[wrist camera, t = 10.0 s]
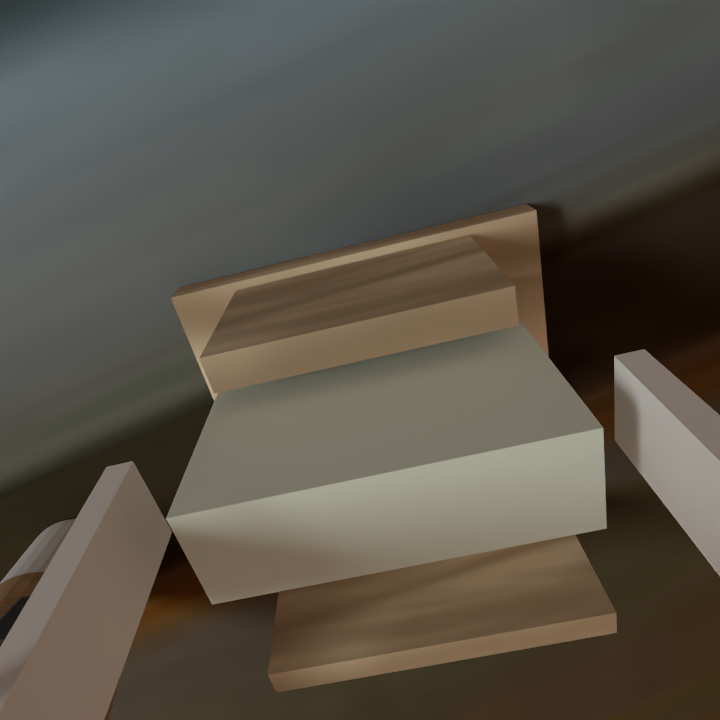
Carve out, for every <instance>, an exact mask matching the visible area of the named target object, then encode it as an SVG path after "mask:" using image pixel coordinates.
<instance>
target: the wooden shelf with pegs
mask: <svg viewBox="0 0 720 720" xmlns="http://www.w3.org/2000/svg"><path fill="white" fill-rule="evenodd" d="M171 300H172V302H173V304H174V307H175V309H176V311H177V314H178V316H179V319H180V321H181V323H182V326H183V328H184V330H185V333H186V335H187V338H188V340H189V342H190V345H191V347H192V349H193V352H194V354H195V357H196V359H197V361H198V364H199V366H200V368H201V371H202V373H203V376H204V378H205V380H206V383H207V385H208V387H209V390H210V392H211V394H212V397H213V399H214V401H215V399H216V396H217V394H218V393H219V392H224V391H228V390H233V389H237V388H242V387H246V386H251V385H255V384H260V383H264V382H268V381H273V380H277V379H282V378H286V377H291V376H295V375H300V374H304V373H309V372H313V371H318V370H322V369H327V368H331V367H336V366H340V365H345V364H349V363H354V362H358V361H362V360H367V359H371V358H376V357H380V356H385V355H389V354H394V353H398V352H403V351H407V350H412V349H416V348H421V347H425V346H430V345H434V344H439V343H443V342H447V341H452V340H456V339H461V338H465V337H470V336H474V335H479V334H483V333H488V332H492V331H497V330H501V329H506V328H510V327H515V326H519V320H520V321H521V322H522V324H523V325H524V326H525V328H526V329H527V330H528V331H529V333H530V334H531V335H532V337H533V338H534V339H535V340H536V342H537V343H538V344H539V346H540V347H541V348H542V349H543V351H544V352H545V353H546V355H547V356H548V357H549V355H548V343H547V331H546V319H545V307H544V295H543V283H542V270H541V258H540V246H539V234H538V222H537V210H535V209H534V208H532V207H531V206H529V205H527V204H524V205H520V206H515V207H511V208H507V209H503V210H499V211H495V212H491V213H486V214H482V215H478V216H474V217H470V218H466V219H462V220H457V221H453V222H449V223H445V224H441V225H437V226H432V227H428V228H424V229H420V230H416V231H412V232H408V233H403V234H399V235H395V236H391V237H387V238H383V239H379V240H374V241H370V242H366V243H362V244H358V245H354V246H350V247H345V248H341V249H337V250H333V251H329V252H325V253H321V254H316V255H312V256H308V257H304V258H300V259H296V260H291V261H287V262H283V263H279V264H275V265H271V266H267V267H262V268H258V269H254V270H250V271H246V272H242V273H238V274H233V275H229V276H225V277H221V278H217V279H213V280H209V281H204V282H200V283H196V284H192V285H188V286H184V287H179V289H178V290H177V291H176V292H175V293H174V295H173V296H172V297H171ZM612 633H617V623H616V611H615V609H614V608H613V606H612V604H611V602H610V600H609V598H608V596H607V594H606V592H605V590H604V588H603V587H602V585H601V583H600V581H599V579H598V577H597V575H596V573H595V571H594V569H593V568H592V566H591V564H590V562H589V560H588V558H587V556H586V554H585V552H584V550H583V548H582V547H581V545H580V543H579V541H578V539H577V537H576V535H570V536H565V537H560V538H555V539H550V540H544V541H539V542H534V543H529V544H524V545H519V546H513V547H508V548H503V549H498V550H493V551H487V552H482V553H477V554H472V555H467V556H462V557H456V558H451V559H446V560H441V561H436V562H430V563H425V564H420V565H415V566H410V567H404V568H399V569H394V570H389V571H384V572H379V573H373V574H368V575H363V576H358V577H353V578H347V579H342V580H337V581H332V582H327V583H322V584H316V585H311V586H306V587H301V588H296V589H290V590H285V591H280V592H278V600H277V608H276V615H275V623H274V631H273V639H272V647H271V655H270V662H269V670H268V676H269V678H270V680H271V682H272V684H273V686H274V688H275V690H276V692H282V691H288V690H294V689H299V688H305V687H311V686H316V685H322V684H328V683H333V682H339V681H345V680H351V679H356V678H362V677H368V676H373V675H379V674H385V673H390V672H396V671H402V670H407V669H413V668H419V667H424V666H430V665H436V664H441V663H447V662H453V661H458V660H464V659H470V658H476V657H481V656H487V655H493V654H498V653H504V652H510V651H515V650H521V649H527V648H532V647H538V646H544V645H549V644H555V643H561V642H566V641H572V640H578V639H584V638H589V637H595V636H601V635H606V634H612Z"/></svg>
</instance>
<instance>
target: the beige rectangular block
mask: <svg viewBox="0 0 720 720" xmlns="http://www.w3.org/2000/svg"><path fill="white" fill-rule="evenodd" d="M166 520H167V521H168V523H169V525H170V527H171V529H172V531H173V533H174V534H175V536H176V538H177V540H178V542H179V544H180V546H181V547H182V549H183V551H184V553H185V555H186V557H187V559H188V561H189V562H190V564H191V566H192V568H193V570H194V572H195V574H196V575H197V577H198V579H199V581H200V583H201V585H202V587H203V589H204V590H205V592H206V594H207V596H208V598H209V600H210V602H211V603H212V605H213V604H218V603H223V602H228V601H233V600H239V599H244V598H249V597H254V596H259V595H265V594H270V593H275V592H280V591H285V590H290V589H296V588H301V587H306V586H311V585H316V584H322V583H327V582H332V581H337V580H342V579H347V578H353V577H358V576H363V575H368V574H373V573H379V572H384V571H389V570H394V569H399V568H404V567H410V566H415V565H420V564H425V563H430V562H436V561H441V560H446V559H451V558H456V557H462V556H467V555H472V554H477V553H482V552H487V551H493V550H498V549H503V548H508V547H513V546H519V545H524V544H529V543H534V542H539V541H544V540H550V539H555V538H560V537H565V536H570V535H576V534H581V533H586V532H591V531H596V530H602V529H607V522H606V494H605V466H604V438H603V427H602V426H601V424H600V423H599V422H598V420H597V419H596V418H595V417H594V415H593V414H592V413H591V411H590V410H589V409H588V408H587V406H586V405H585V404H584V402H583V401H582V400H581V399H580V397H579V396H578V395H577V393H576V392H575V391H574V389H573V388H572V387H571V386H570V384H569V383H568V382H567V380H566V379H565V378H564V377H563V375H562V374H561V373H560V371H559V370H558V369H557V368H556V366H555V365H554V364H553V362H552V361H551V360H550V359H549V357H548V356H547V355H546V353H545V352H544V351H543V349H542V348H541V347H540V346H539V344H538V343H537V342H536V340H535V339H534V338H533V337H532V335H531V334H530V333H529V331H528V330H527V329H526V328H525V326H524V325H523V324H522V322H521V321H520V320H519V326H515V327H510V328H506V329H501V330H497V331H492V332H488V333H483V334H479V335H474V336H470V337H465V338H461V339H456V340H452V341H447V342H443V343H439V344H434V345H430V346H425V347H421V348H416V349H412V350H407V351H403V352H398V353H394V354H389V355H385V356H380V357H376V358H371V359H367V360H362V361H358V362H354V363H349V364H345V365H340V366H336V367H331V368H327V369H322V370H318V371H313V372H309V373H304V374H300V375H295V376H291V377H286V378H282V379H277V380H273V381H268V382H264V383H260V384H255V385H251V386H246V387H242V388H237V389H233V390H228V391H224V392H219V393H218V394H217V396H216V399H215V401H214V404H213V406H212V408H211V411H210V413H209V416H208V418H207V421H206V423H205V425H204V428H203V430H202V433H201V435H200V438H199V440H198V442H197V445H196V447H195V450H194V452H193V454H192V457H191V459H190V462H189V464H188V467H187V469H186V471H185V474H184V476H183V479H182V481H181V483H180V486H179V488H178V491H177V493H176V496H175V498H174V500H173V503H172V505H171V508H170V510H169V512H168V515H167V517H166Z"/></svg>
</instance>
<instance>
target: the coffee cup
mask: <svg viewBox="0 0 720 720" xmlns="http://www.w3.org/2000/svg"><path fill="white" fill-rule="evenodd" d="M75 520H76V519H69V520H64V521H61V522H58V523H55V524H53V525H52V526H50V527H48V528H46V529H45V530H44V531H43V532H42V533H41V534H40V535H39V536H38V537H37V538H36V539H35V541H34V542H33V543H32V544H31V545H30V547H29V548H28V549H27V550H26V552H25V553H24V554H23V555H22V557H21V558H20V559H19V560H18V562H17V563H16V564H15V565H14V566H13V568H12V569H11V570H10V571H9V573H8V574H7V575H6V576H5V578H4V579H3V580H2V581H1V583H0V619H1V618H2V617H3V616H4V615H5V614H6V613H7V612H8V611H9V610H10V609H11V608H12V607H13V606H14V605H15V604H16V603H17V602H18V601H19V599H20V598H21V597H26V596H31V594H32V592H33V591H34V589H35V587H36V586H37V584H38V582H39V581H40V579H41V577H42V576H43V574H44V572H45V570H46V569H47V567H48V565H49V564H50V562H51V560H52V559H53V557H54V555H55V554H56V552H57V550H58V548H59V547H60V545H61V543H62V542H63V540H64V538H65V537H66V535H67V533H68V531H69V530H70V528H71V526H72V525H73V523H74V521H75ZM119 679H120V678H119ZM118 683H119V681H118ZM118 683H117V686H118ZM117 686H116V689H115V692H114V694H113V697H112V700H111V703H110V705H109V708H108V711H107V714H106V717H105V719H104V720H108V719H109V715H110V711H111V708H112V704H113V701H114V697H115V693H116V690H117Z"/></svg>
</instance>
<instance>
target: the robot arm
mask: <svg viewBox="0 0 720 720" xmlns="http://www.w3.org/2000/svg"><path fill="white" fill-rule="evenodd" d="M614 393H615V441H616V442H617V444H618V445H619V446H620V447H621V449H622V450H623V451H624V453H625V454H626V455H627V457H628V458H629V459H630V460H631V462H632V463H633V464H634V466H635V467H636V468H637V470H638V471H639V472H640V473H641V475H642V476H643V477H644V479H645V480H646V481H647V482H648V484H649V485H650V486H651V488H652V489H653V490H654V492H655V493H656V494H657V495H658V497H659V498H660V499H661V501H662V502H663V503H664V505H665V506H666V507H667V508H668V510H669V511H670V512H671V514H672V515H673V516H674V518H675V519H676V520H677V521H678V523H679V524H680V525H681V527H682V528H683V529H684V531H685V532H686V533H687V534H688V536H689V537H690V538H691V540H692V541H693V542H694V543H695V545H696V546H697V547H698V549H699V550H700V551H701V553H702V554H703V555H704V556H705V558H706V559H707V560H708V562H709V563H710V564H711V566H712V567H713V568H714V569H715V571H716V572H717V573H718V575H719V576H720V415H719V414H718V413H717V412H715V411H714V410H713V409H712V408H711V407H710V406H709V405H707V404H706V403H705V402H704V401H703V400H702V399H701V398H699V397H698V396H697V395H696V394H695V393H694V392H693V391H691V390H690V389H689V388H688V387H687V386H686V385H685V384H684V383H682V382H681V381H680V380H679V379H678V378H677V377H676V376H674V375H673V374H672V373H671V372H670V371H669V370H668V369H666V368H665V367H664V366H663V365H662V364H661V363H660V362H658V361H657V360H656V359H655V358H654V357H653V356H652V355H651V354H649V353H648V352H647V351H646V350H645V349H643V350H638V351H633V352H629V353H624V354H620V355H615V356H614ZM171 534H172V531H171V529H170V527H169V526H168V524H167V522H166V520H165V518H164V517H163V515H162V513H161V511H160V509H159V508H158V506H157V504H156V502H155V500H154V499H153V497H152V495H151V493H150V491H149V490H148V488H147V486H146V484H145V482H144V481H143V479H142V477H141V475H140V473H139V472H138V470H137V468H136V466H135V464H134V463H133V461H131V462H127V463H122V464H118V465H113V466H109V467H106V469H105V470H104V472H103V474H102V476H101V477H100V479H99V481H98V482H97V484H96V486H95V487H94V489H93V491H92V493H91V494H90V496H89V498H88V499H87V501H86V503H85V504H84V506H83V508H82V509H81V511H80V513H79V515H78V516H77V518H76V520H75V521H74V523H73V525H72V526H71V528H70V530H69V531H68V533H67V535H66V537H65V538H64V540H63V542H62V543H61V545H60V547H59V548H58V550H57V552H56V554H55V555H54V557H53V559H52V560H51V562H50V564H49V565H48V567H47V569H46V570H45V572H44V574H43V576H42V577H41V579H40V581H39V582H38V584H37V586H36V587H35V589H34V591H33V592H32V594H31V596H26V597H21V598H20V599H19V601H18V602H17V603H16V604H15V605H14V606H13V607H12V608H11V609H10V610H9V611H8V612H7V613H6V614H5V615H4V616H3V617H2V618H1V619H0V720H104V719H105V717H106V714H107V711H108V708H109V705H110V703H111V700H112V697H113V694H114V692H115V689H116V686H117V683H118V681H119V678H120V675H121V672H122V669H123V667H124V664H125V661H126V658H127V656H128V653H129V650H130V647H131V645H132V642H133V639H134V636H135V633H136V631H137V628H138V625H139V622H140V620H141V617H142V614H143V611H144V609H145V606H146V603H147V600H148V597H149V595H150V592H151V589H152V586H153V584H154V581H155V578H156V575H157V573H158V570H159V567H160V564H161V561H162V559H163V556H164V553H165V550H166V548H167V545H168V542H169V539H170V537H171Z"/></svg>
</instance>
